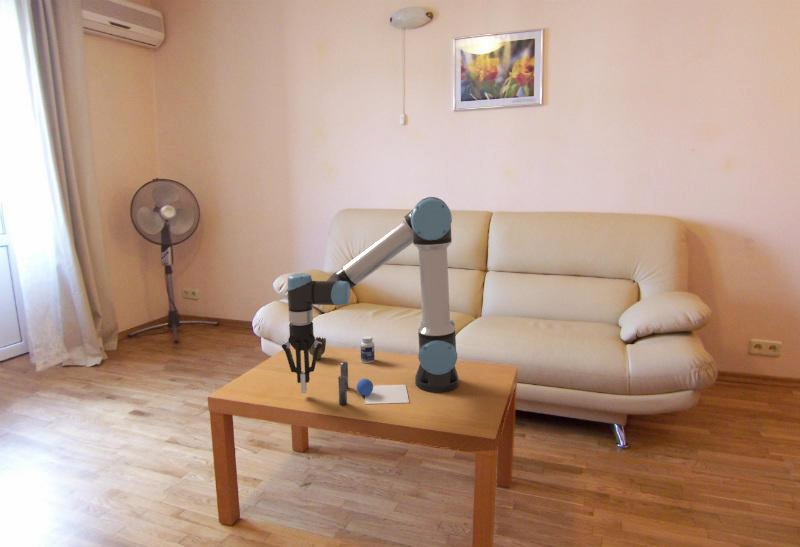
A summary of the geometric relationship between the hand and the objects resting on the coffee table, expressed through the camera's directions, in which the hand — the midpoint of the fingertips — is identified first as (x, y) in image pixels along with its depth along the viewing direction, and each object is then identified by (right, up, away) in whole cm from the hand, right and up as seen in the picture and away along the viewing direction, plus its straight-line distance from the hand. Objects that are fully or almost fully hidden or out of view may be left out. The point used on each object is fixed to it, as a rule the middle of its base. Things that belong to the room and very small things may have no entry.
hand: (303, 391), depth 167 cm
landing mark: (+27, -2, +2) cm, 27 cm away
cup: (-1, +5, +35) cm, 36 cm away
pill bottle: (+19, +4, +33) cm, 38 cm away
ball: (+20, +1, +1) cm, 20 cm away
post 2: (+13, -3, -5) cm, 15 cm away
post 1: (+13, -1, +7) cm, 15 cm away
